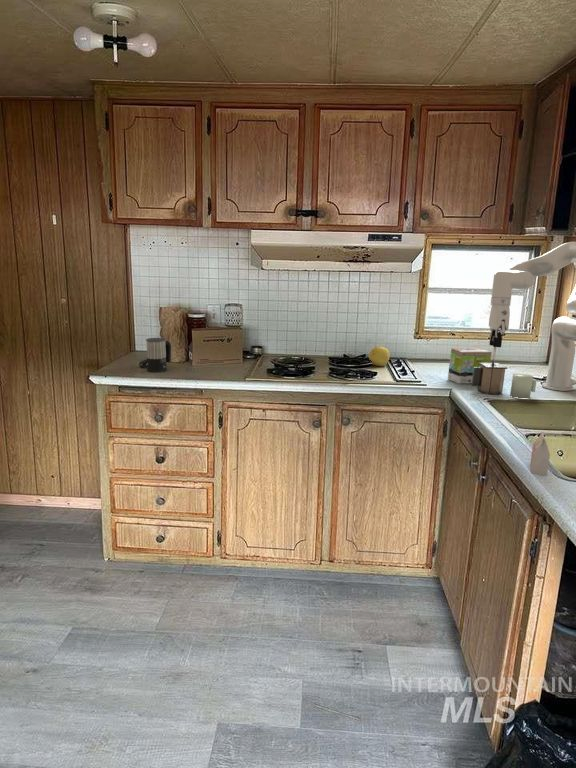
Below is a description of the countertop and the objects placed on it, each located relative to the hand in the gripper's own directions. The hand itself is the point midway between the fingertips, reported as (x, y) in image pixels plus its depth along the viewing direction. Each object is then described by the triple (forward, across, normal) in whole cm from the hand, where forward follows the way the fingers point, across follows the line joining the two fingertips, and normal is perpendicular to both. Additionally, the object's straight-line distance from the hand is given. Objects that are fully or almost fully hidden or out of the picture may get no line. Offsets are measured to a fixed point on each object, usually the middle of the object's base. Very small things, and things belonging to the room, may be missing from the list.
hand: (495, 345), depth 219 cm
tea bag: (+20, -84, +18) cm, 89 cm away
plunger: (+12, 0, 0) cm, 12 cm away
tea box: (+20, +19, +3) cm, 28 cm away
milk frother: (+20, +28, +150) cm, 154 cm away
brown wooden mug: (+20, 0, +1) cm, 20 cm away
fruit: (+20, +49, +39) cm, 66 cm away
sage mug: (+20, -7, -10) cm, 23 cm away
